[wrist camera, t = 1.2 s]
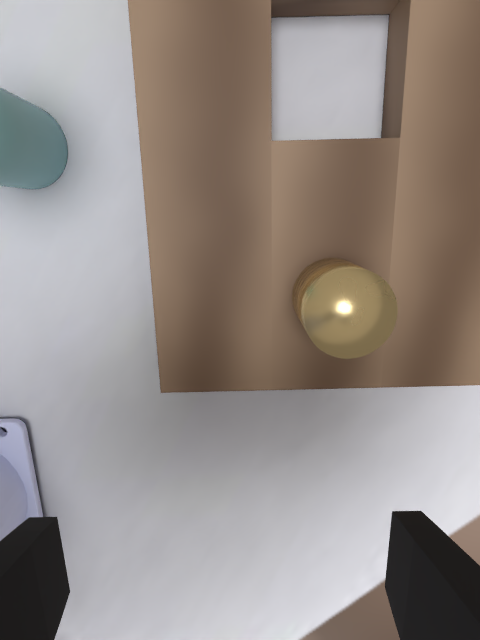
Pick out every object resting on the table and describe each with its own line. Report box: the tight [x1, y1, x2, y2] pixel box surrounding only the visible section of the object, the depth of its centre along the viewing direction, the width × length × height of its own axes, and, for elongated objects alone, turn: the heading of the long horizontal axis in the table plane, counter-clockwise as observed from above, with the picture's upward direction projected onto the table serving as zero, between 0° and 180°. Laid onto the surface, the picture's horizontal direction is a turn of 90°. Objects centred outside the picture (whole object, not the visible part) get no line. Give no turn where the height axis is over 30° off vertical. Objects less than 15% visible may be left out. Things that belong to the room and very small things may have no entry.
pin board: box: [128, 0, 480, 393], centre depth 14 cm, size 14×18×5 cm
